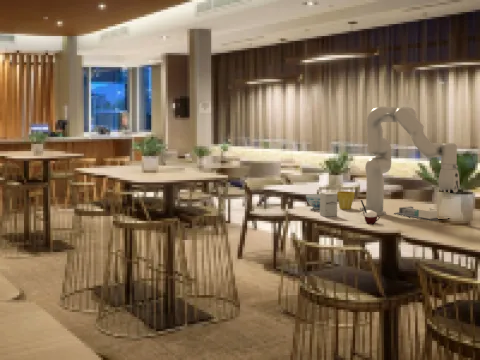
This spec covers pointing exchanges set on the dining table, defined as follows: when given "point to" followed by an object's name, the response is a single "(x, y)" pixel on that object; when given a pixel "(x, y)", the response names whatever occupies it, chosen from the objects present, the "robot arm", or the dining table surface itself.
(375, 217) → the cocoa
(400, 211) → the tongs fixed arm
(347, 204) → the plant pot
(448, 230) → the dining table surface
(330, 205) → the supplement box
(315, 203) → the chinaware
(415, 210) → the tongs moving arm
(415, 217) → the mat
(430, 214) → the lock clasp
